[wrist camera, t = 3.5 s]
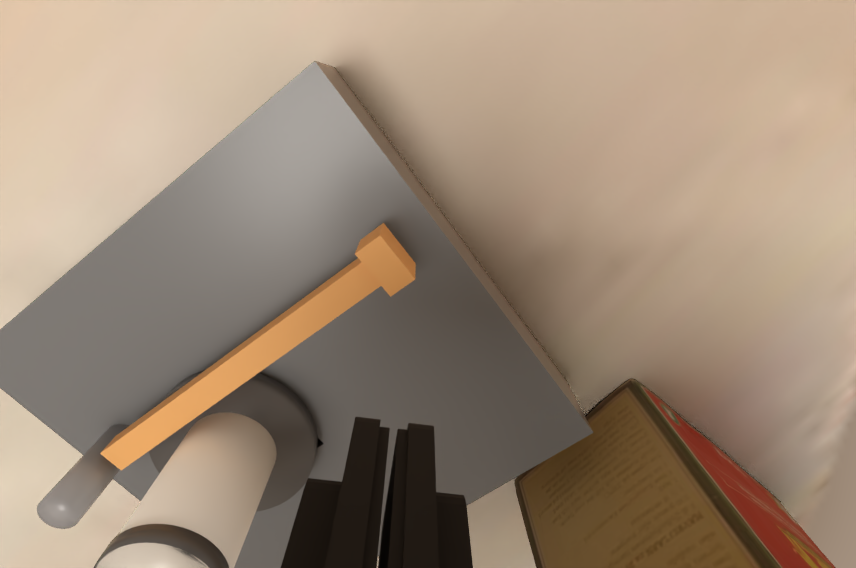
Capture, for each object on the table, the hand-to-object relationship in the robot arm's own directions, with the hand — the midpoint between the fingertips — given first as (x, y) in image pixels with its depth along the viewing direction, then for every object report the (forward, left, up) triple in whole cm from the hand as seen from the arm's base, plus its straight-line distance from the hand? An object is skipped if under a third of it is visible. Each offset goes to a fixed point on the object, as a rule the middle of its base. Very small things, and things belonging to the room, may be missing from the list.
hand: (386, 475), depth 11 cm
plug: (-1, +9, -13) cm, 16 cm away
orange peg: (+2, +5, -8) cm, 10 cm away
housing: (-1, +6, -13) cm, 14 cm away
